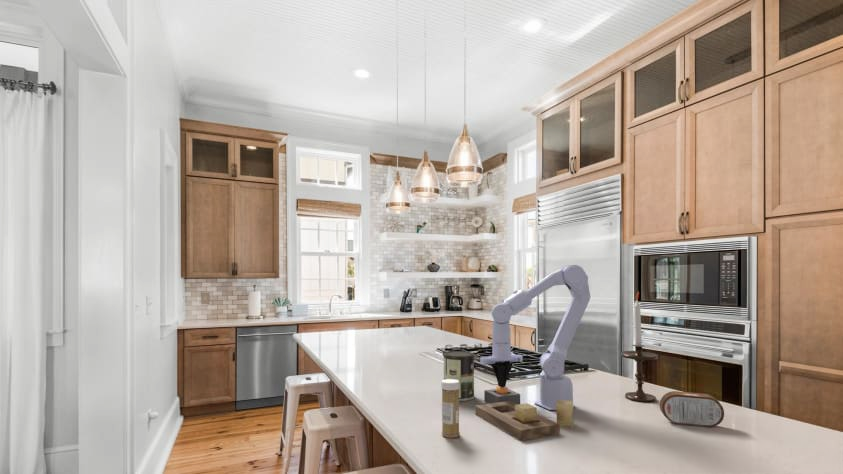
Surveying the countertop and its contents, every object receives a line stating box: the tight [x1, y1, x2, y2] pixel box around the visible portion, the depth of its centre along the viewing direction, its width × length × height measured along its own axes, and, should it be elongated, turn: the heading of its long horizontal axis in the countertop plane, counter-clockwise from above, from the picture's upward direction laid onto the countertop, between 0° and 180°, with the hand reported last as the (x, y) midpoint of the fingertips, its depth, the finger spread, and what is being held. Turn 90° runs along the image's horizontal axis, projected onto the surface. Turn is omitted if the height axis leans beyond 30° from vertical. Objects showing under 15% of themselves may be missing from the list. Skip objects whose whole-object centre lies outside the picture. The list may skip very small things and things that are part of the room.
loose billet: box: [555, 400, 574, 429], centre depth 120 cm, size 4×4×6 cm
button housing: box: [483, 388, 521, 405], centre depth 139 cm, size 8×8×4 cm
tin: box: [659, 390, 725, 428], centre depth 120 cm, size 15×3×8 cm, turn 72°
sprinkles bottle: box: [441, 379, 461, 439], centre depth 112 cm, size 5×5×13 cm
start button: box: [495, 385, 509, 395], centre depth 139 cm, size 4×4×2 cm
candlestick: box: [620, 290, 658, 404], centre depth 146 cm, size 11×11×35 cm
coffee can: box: [442, 350, 475, 402], centre depth 147 cm, size 10×10×14 cm
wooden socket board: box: [474, 401, 561, 442], centre depth 120 cm, size 12×22×2 cm, turn 23°
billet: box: [515, 402, 538, 424], centre depth 116 cm, size 4×4×6 cm
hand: (501, 386), depth 139 cm, fingers closed
